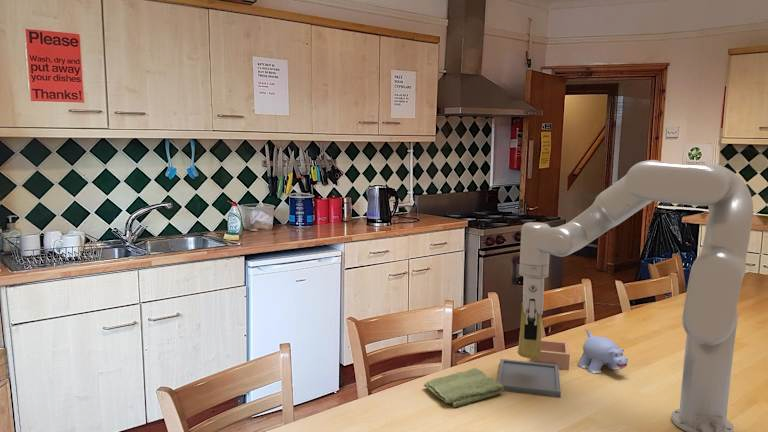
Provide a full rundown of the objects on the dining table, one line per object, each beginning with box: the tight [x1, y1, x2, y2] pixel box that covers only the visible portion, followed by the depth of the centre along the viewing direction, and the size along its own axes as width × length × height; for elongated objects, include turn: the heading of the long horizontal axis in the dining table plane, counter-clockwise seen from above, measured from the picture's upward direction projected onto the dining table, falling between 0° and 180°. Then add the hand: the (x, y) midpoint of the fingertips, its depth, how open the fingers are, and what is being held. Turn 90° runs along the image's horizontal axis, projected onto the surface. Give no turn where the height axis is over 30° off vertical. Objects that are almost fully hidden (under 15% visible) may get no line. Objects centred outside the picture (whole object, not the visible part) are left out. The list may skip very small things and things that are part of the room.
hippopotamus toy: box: [577, 329, 629, 375], centre depth 167 cm, size 11×15×10 cm
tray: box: [496, 358, 562, 398], centre depth 159 cm, size 18×16×2 cm
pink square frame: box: [532, 339, 570, 371], centre depth 172 cm, size 10×10×4 cm
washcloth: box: [423, 367, 504, 408], centre depth 151 cm, size 13×18×3 cm
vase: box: [517, 301, 543, 359], centre depth 157 cm, size 6×6×14 cm
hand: (530, 334), depth 158 cm, fingers closed on vase, 5 cm apart
